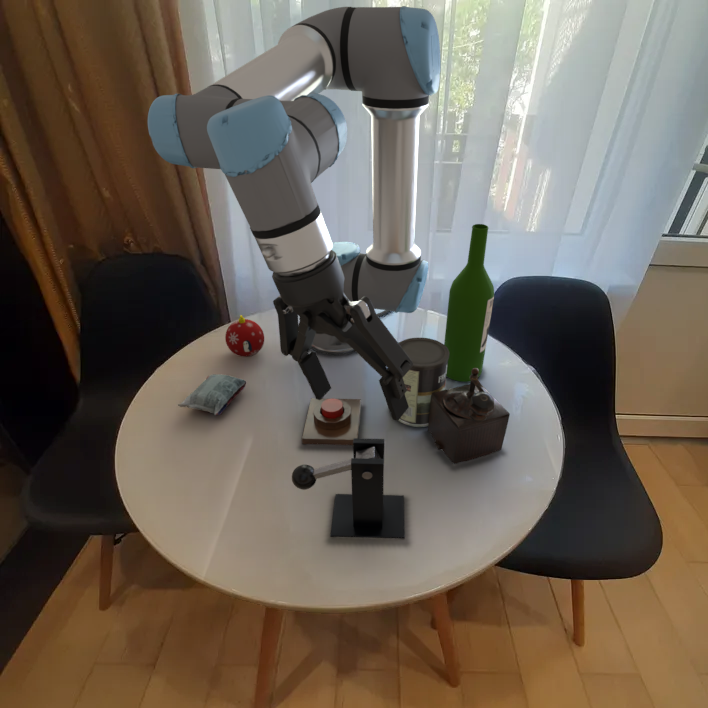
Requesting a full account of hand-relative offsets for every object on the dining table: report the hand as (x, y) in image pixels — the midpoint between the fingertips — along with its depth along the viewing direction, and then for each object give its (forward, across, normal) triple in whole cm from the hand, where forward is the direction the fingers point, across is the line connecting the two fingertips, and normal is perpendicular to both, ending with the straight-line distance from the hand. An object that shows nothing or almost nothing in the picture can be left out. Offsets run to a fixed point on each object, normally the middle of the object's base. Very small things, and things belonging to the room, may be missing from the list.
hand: (360, 403), depth 66 cm
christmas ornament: (+14, -52, +17) cm, 57 cm away
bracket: (+20, -2, -6) cm, 21 cm away
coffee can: (+24, -10, +21) cm, 33 cm away
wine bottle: (+27, -10, +39) cm, 49 cm away
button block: (+19, -20, +8) cm, 29 cm away
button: (+15, -19, +9) cm, 26 cm away
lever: (+10, -3, -6) cm, 12 cm away
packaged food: (+12, -44, +1) cm, 45 cm away
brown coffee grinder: (+26, +3, +16) cm, 31 cm away
